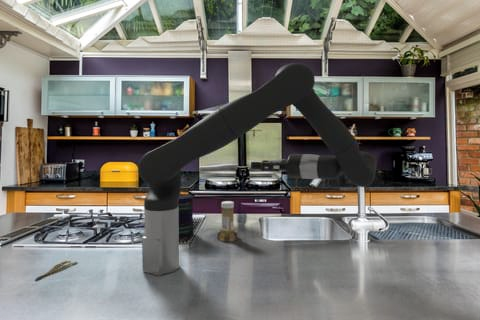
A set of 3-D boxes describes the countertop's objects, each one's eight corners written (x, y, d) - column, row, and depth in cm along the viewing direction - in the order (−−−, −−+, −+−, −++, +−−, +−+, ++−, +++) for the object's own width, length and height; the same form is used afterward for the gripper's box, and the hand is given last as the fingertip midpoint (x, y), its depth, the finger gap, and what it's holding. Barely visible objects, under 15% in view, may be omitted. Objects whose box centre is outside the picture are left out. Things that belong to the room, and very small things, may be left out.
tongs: (30, 283, 78) (30, 275, 78) (66, 265, 90) (66, 258, 90) (44, 285, 77) (45, 277, 77) (79, 266, 90) (79, 259, 90)
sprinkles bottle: (236, 238, 111) (236, 202, 111) (225, 240, 109) (225, 203, 108) (229, 235, 115) (229, 200, 114) (219, 237, 113) (219, 201, 112)
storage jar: (191, 239, 111) (190, 198, 110) (164, 239, 111) (163, 198, 110) (195, 231, 121) (195, 193, 120) (170, 231, 121) (170, 193, 120)
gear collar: (230, 242, 107) (230, 235, 107) (213, 239, 111) (213, 232, 110) (240, 236, 113) (240, 230, 113) (223, 234, 117) (223, 227, 117)
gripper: (311, 153, 99) (265, 152, 107) (297, 155, 87) (247, 153, 94) (311, 176, 100) (265, 173, 107) (297, 181, 87) (247, 177, 95)
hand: (257, 164), depth 101 cm, fingers open, 8 cm apart
